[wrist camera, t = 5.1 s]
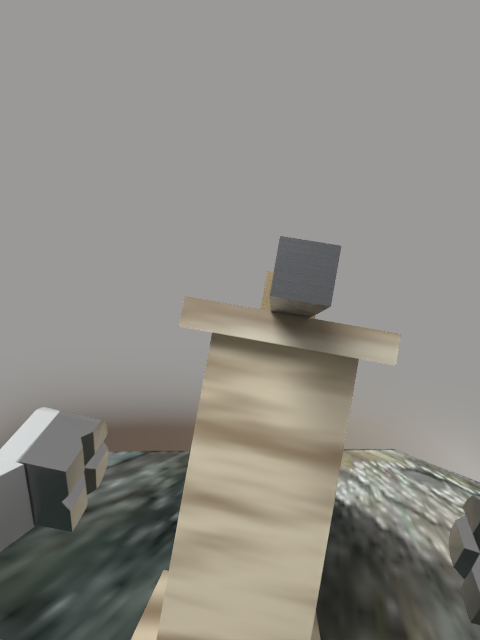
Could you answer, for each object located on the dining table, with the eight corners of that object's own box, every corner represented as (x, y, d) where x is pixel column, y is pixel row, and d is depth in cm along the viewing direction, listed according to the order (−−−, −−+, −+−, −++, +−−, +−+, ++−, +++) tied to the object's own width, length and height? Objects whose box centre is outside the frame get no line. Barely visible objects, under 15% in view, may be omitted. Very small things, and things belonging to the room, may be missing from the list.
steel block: (354, 310, 17) (369, 222, 17) (246, 291, 17) (262, 206, 17) (308, 325, 39) (315, 287, 39) (261, 317, 39) (268, 279, 39)
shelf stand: (330, 753, 26) (401, 334, 26) (111, 696, 27) (184, 296, 28) (312, 621, 38) (361, 335, 38) (160, 586, 39) (211, 308, 40)
